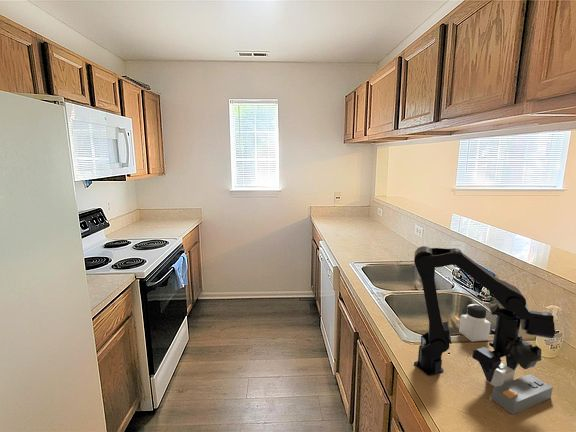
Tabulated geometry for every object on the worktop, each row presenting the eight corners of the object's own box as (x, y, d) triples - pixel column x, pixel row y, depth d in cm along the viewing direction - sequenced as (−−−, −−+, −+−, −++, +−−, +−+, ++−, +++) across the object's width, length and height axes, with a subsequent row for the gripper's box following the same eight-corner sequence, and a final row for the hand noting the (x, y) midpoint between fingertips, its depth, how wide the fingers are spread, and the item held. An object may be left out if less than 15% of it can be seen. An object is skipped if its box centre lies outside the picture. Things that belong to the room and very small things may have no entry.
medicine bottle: (488, 340, 121) (493, 310, 119) (471, 342, 120) (475, 311, 118) (475, 330, 128) (478, 301, 126) (458, 331, 127) (462, 302, 125)
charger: (485, 380, 100) (488, 363, 99) (496, 376, 102) (498, 359, 101) (512, 398, 93) (515, 380, 92) (522, 394, 95) (525, 376, 93)
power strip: (491, 398, 92) (493, 386, 92) (528, 384, 98) (530, 372, 98) (512, 414, 87) (514, 401, 86) (550, 398, 93) (553, 385, 92)
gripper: (513, 352, 84) (504, 405, 87) (558, 337, 91) (549, 387, 94) (474, 330, 95) (467, 378, 98) (517, 318, 102) (510, 364, 105)
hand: (499, 377), depth 98 cm, fingers open, 9 cm apart
